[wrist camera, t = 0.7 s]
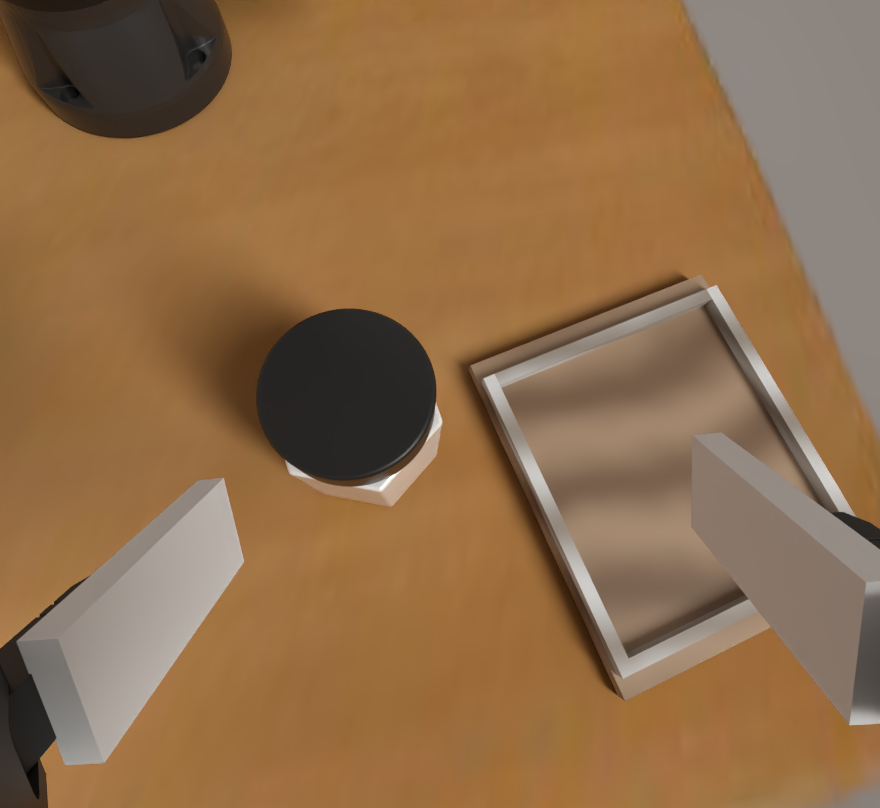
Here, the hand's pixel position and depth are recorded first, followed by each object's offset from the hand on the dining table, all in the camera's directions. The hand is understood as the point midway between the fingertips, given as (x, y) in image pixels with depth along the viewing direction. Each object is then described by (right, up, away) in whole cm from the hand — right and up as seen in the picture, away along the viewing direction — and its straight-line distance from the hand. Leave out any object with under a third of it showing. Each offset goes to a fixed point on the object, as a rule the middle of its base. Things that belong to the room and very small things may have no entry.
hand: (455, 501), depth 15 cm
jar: (-5, 0, +21) cm, 21 cm away
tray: (+14, -2, +21) cm, 25 cm away
